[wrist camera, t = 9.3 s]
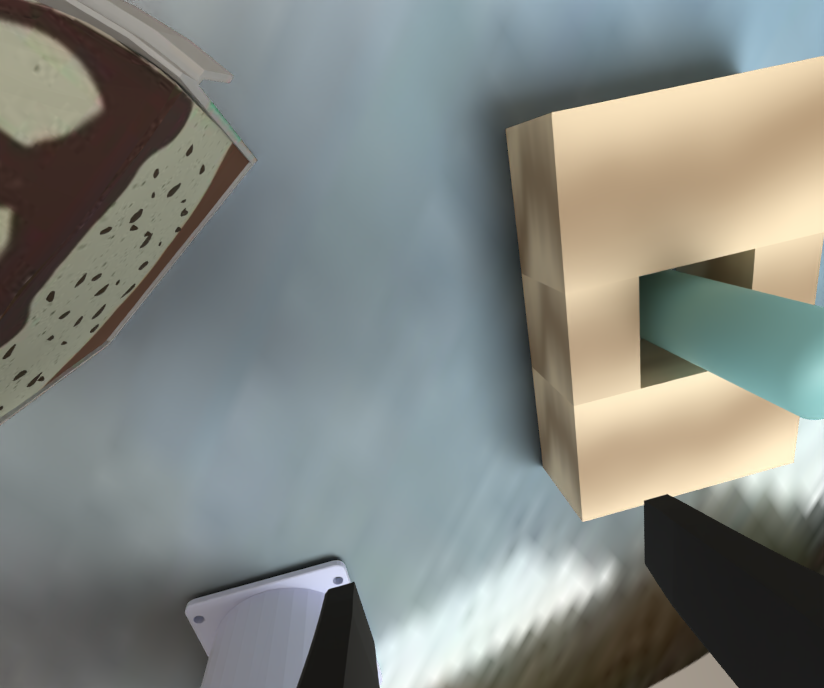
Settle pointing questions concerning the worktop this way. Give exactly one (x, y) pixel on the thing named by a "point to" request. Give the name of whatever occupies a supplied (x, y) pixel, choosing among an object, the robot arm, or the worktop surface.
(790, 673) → the robot arm
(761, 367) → the peg
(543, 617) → the worktop surface
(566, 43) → the worktop surface
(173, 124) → the food container
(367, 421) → the worktop surface
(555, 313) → the hole block
